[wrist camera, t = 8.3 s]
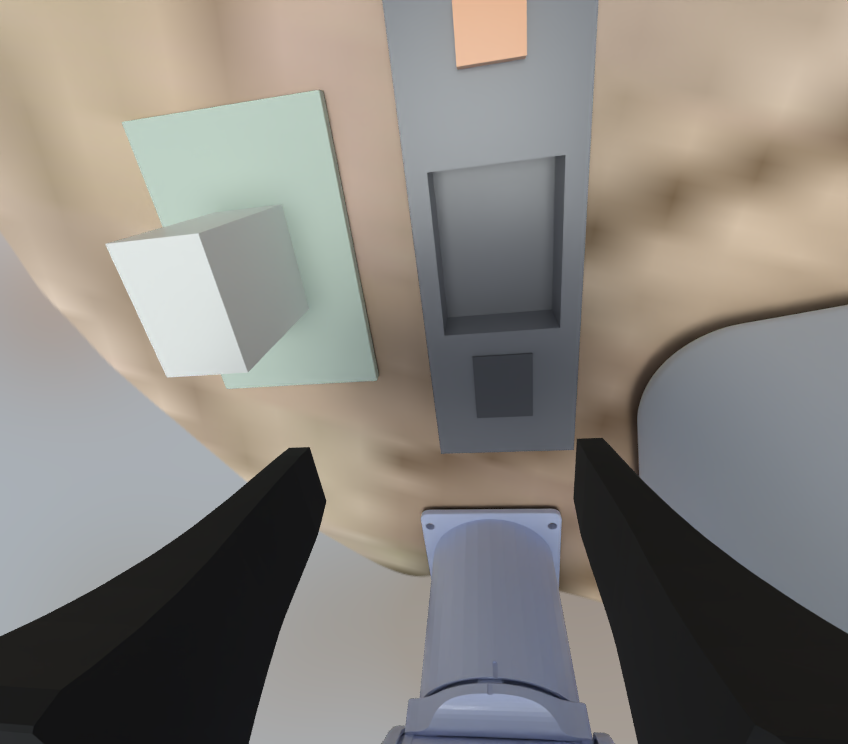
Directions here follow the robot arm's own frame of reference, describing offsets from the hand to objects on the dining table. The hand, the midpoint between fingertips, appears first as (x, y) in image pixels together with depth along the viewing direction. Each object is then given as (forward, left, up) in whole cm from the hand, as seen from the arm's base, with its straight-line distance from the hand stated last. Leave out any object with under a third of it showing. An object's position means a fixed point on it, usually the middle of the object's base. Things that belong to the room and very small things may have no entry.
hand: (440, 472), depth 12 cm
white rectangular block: (+4, +8, -9) cm, 13 cm away
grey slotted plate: (+4, -2, -9) cm, 10 cm away
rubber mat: (+4, +8, -9) cm, 13 cm away
